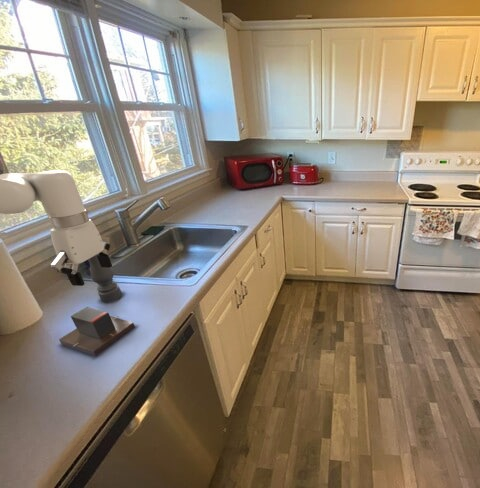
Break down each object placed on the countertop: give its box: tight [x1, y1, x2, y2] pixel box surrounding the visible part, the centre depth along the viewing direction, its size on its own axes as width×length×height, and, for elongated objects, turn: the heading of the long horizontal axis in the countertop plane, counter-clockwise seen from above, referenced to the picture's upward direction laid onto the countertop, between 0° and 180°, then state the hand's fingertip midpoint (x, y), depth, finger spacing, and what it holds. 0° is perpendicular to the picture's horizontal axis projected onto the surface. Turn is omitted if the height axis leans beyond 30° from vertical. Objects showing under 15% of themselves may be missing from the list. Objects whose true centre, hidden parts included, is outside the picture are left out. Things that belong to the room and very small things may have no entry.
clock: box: [70, 306, 115, 339], centre depth 81 cm, size 9×4×6 cm, turn 71°
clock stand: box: [58, 315, 136, 357], centre depth 83 cm, size 14×13×2 cm
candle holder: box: [87, 254, 123, 304], centre depth 95 cm, size 6×6×25 cm
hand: (93, 275), depth 80 cm, fingers open, 9 cm apart
